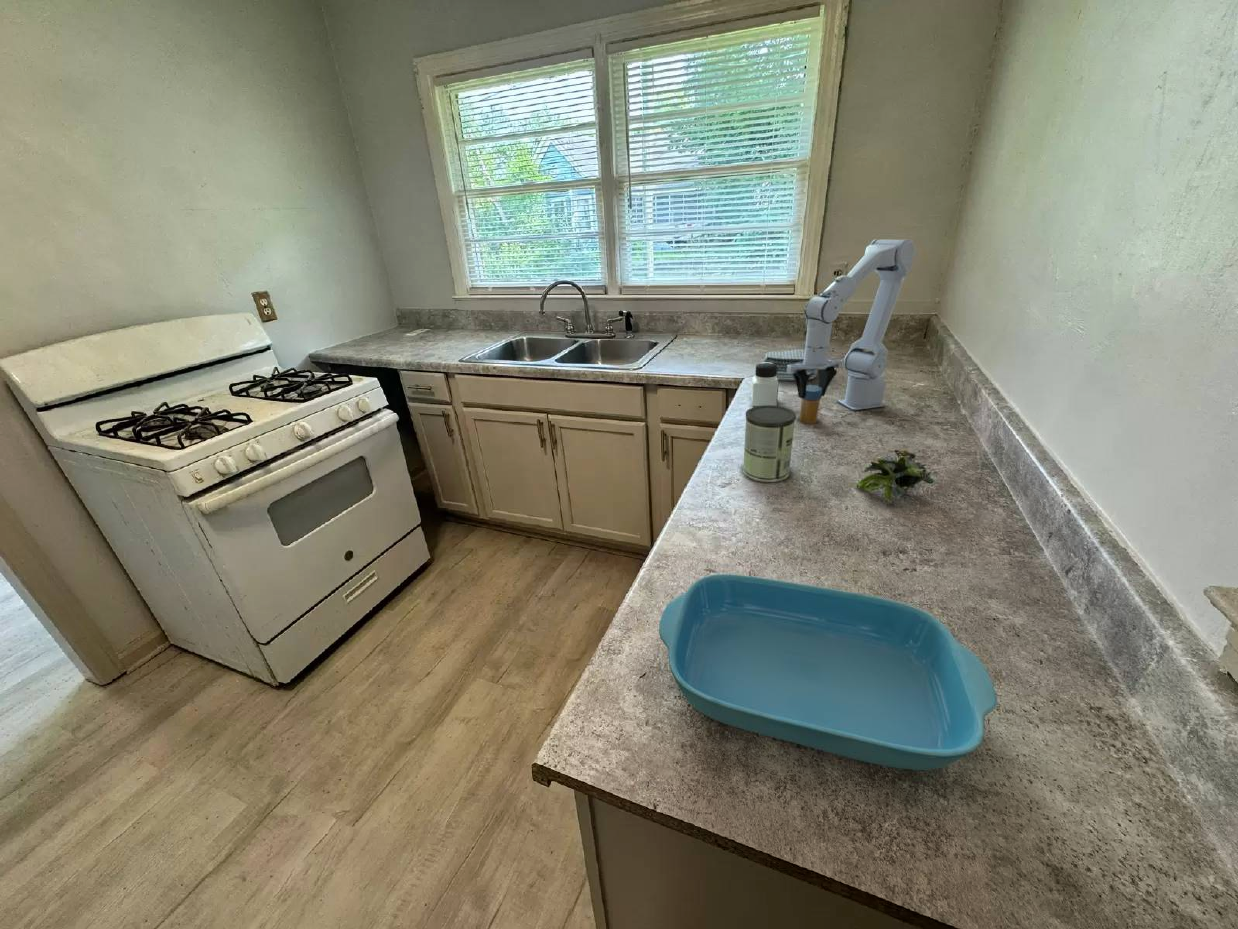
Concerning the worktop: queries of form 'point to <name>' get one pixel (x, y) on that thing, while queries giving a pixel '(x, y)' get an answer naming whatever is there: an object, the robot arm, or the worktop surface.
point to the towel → (787, 362)
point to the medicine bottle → (765, 385)
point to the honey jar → (809, 411)
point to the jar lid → (813, 393)
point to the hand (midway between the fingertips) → (810, 396)
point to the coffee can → (768, 443)
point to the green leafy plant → (895, 474)
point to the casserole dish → (828, 670)
